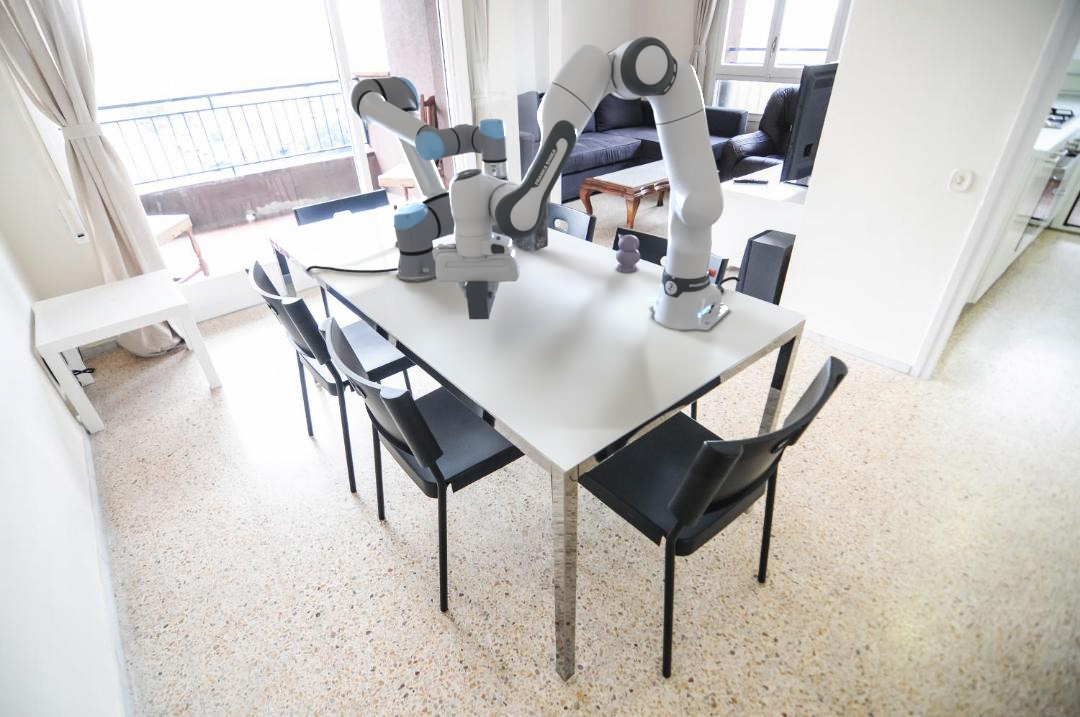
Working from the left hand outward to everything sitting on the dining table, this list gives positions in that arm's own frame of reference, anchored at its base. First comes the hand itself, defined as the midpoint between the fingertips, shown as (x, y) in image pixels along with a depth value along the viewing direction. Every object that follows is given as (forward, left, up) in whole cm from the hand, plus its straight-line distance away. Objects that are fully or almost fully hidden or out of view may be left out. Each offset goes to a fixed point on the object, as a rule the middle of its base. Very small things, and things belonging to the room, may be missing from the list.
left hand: (501, 249), depth 163 cm
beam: (+7, -21, -1) cm, 22 cm away
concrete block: (-6, +33, -11) cm, 36 cm away
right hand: (+14, -42, +3) cm, 44 cm away
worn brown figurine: (-54, +25, -11) cm, 61 cm away
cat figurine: (+38, +21, -11) cm, 45 cm away
